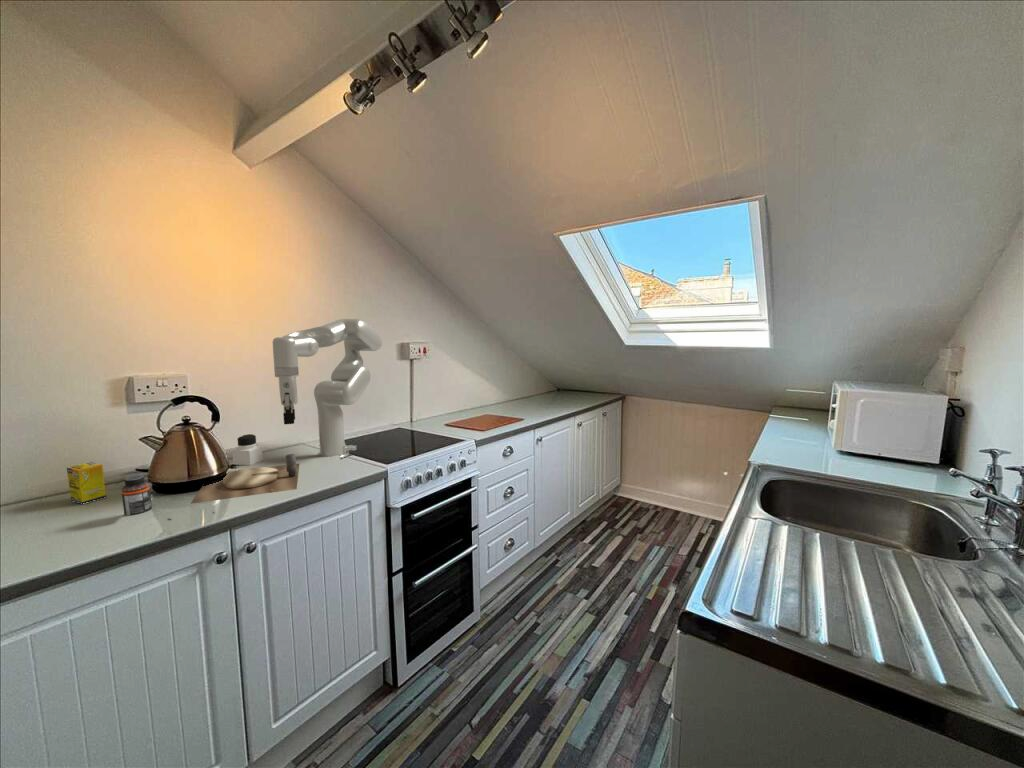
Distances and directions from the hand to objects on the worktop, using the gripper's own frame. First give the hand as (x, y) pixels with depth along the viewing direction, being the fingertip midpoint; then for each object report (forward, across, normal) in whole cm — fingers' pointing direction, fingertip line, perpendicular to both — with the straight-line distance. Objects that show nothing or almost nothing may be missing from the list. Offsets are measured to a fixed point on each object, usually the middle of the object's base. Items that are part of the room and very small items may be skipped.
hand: (289, 421), depth 151 cm
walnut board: (+20, -7, +12) cm, 24 cm away
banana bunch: (+18, -7, +9) cm, 21 cm away
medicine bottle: (+20, +17, +16) cm, 31 cm away
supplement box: (+20, -1, +56) cm, 59 cm away
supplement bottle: (+20, -21, +38) cm, 48 cm away
